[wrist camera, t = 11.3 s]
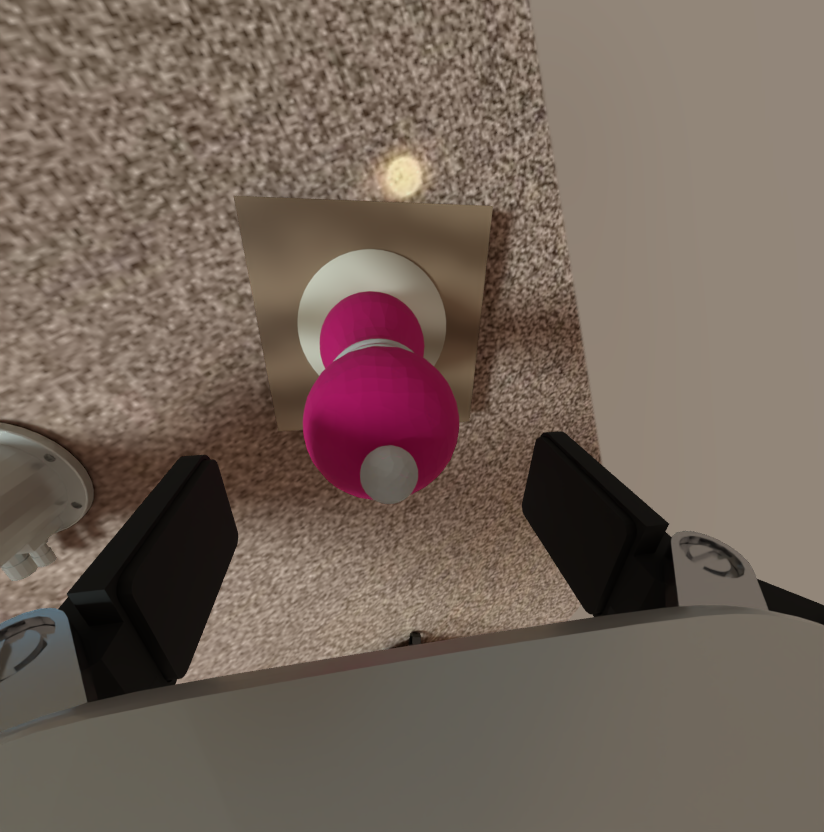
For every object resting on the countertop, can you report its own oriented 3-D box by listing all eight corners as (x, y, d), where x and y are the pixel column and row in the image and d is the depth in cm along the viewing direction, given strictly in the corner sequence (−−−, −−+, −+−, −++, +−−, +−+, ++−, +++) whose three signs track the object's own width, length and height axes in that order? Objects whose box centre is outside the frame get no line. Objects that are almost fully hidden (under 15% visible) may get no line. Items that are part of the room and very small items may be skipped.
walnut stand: (462, 410, 35) (470, 423, 32) (283, 418, 32) (277, 432, 30) (481, 209, 27) (494, 205, 24) (245, 200, 24) (232, 195, 22)
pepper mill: (331, 377, 28) (285, 593, 11) (318, 286, 25) (219, 383, 7) (415, 371, 29) (501, 563, 11) (413, 282, 26) (530, 361, 8)
